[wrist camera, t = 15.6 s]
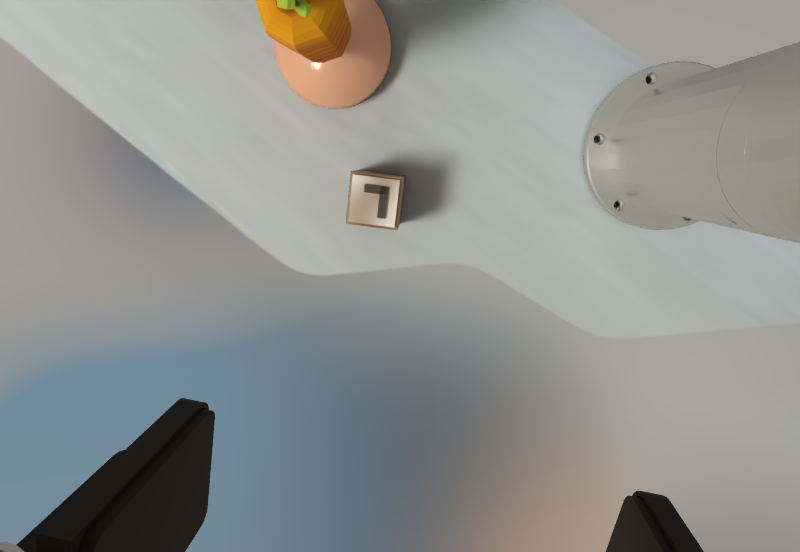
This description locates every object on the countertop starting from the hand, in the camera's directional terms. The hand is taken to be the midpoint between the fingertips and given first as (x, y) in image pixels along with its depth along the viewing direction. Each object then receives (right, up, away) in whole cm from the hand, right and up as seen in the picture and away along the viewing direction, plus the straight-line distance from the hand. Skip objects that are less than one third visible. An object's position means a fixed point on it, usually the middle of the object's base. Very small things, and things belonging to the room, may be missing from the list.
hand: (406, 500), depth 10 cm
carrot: (-5, +23, +26) cm, 35 cm away
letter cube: (-2, +12, +30) cm, 32 cm away
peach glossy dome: (-5, +23, +27) cm, 36 cm away
